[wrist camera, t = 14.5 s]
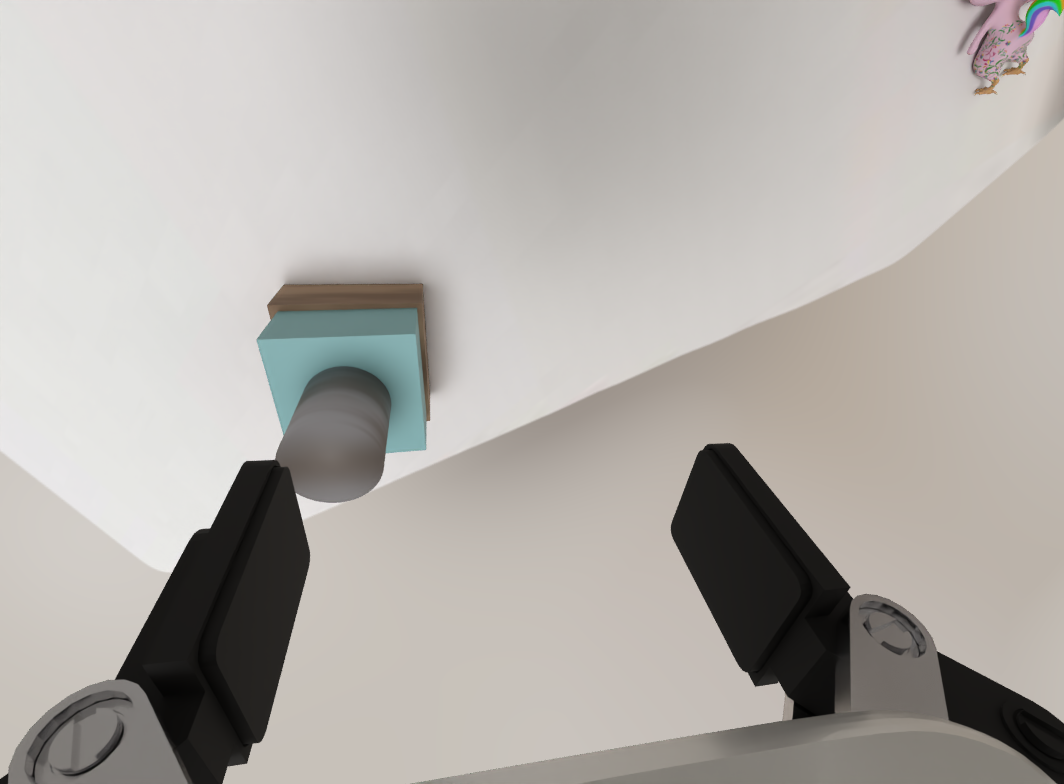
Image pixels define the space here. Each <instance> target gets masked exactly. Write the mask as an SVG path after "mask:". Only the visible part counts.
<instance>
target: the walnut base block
mask: <svg viewBox="0 0 1064 784" xmlns="http://www.w3.org/2000/svg"><path fill="white" fill-rule="evenodd" d="M267 307H268V311H269V315H270V319H271V320H272V318H273V317H274V316H275V314H276V313H277V312H278V311H312V310H351V309H390V308H417V313H418V325H419V336H420V347H421V359H422V370H423V382H424V393H425V404H426V421H430V387H429V373H428V358H427V343H426V328H425V313H424V298H423V284H324V285H283V286H282V288H281V289H280V290H279V291H278V293H277V294H276V295H275V296H274V297H273V299H272V300H271V301H270V302H269V304H268V305H267Z"/></svg>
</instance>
